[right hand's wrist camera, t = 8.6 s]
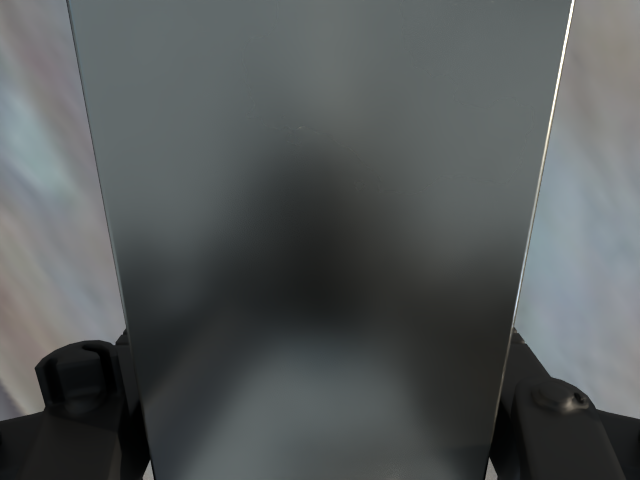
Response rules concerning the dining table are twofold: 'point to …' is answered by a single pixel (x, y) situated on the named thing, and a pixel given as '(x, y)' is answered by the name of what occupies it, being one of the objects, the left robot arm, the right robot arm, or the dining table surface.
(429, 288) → the bar
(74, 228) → the dining table surface
